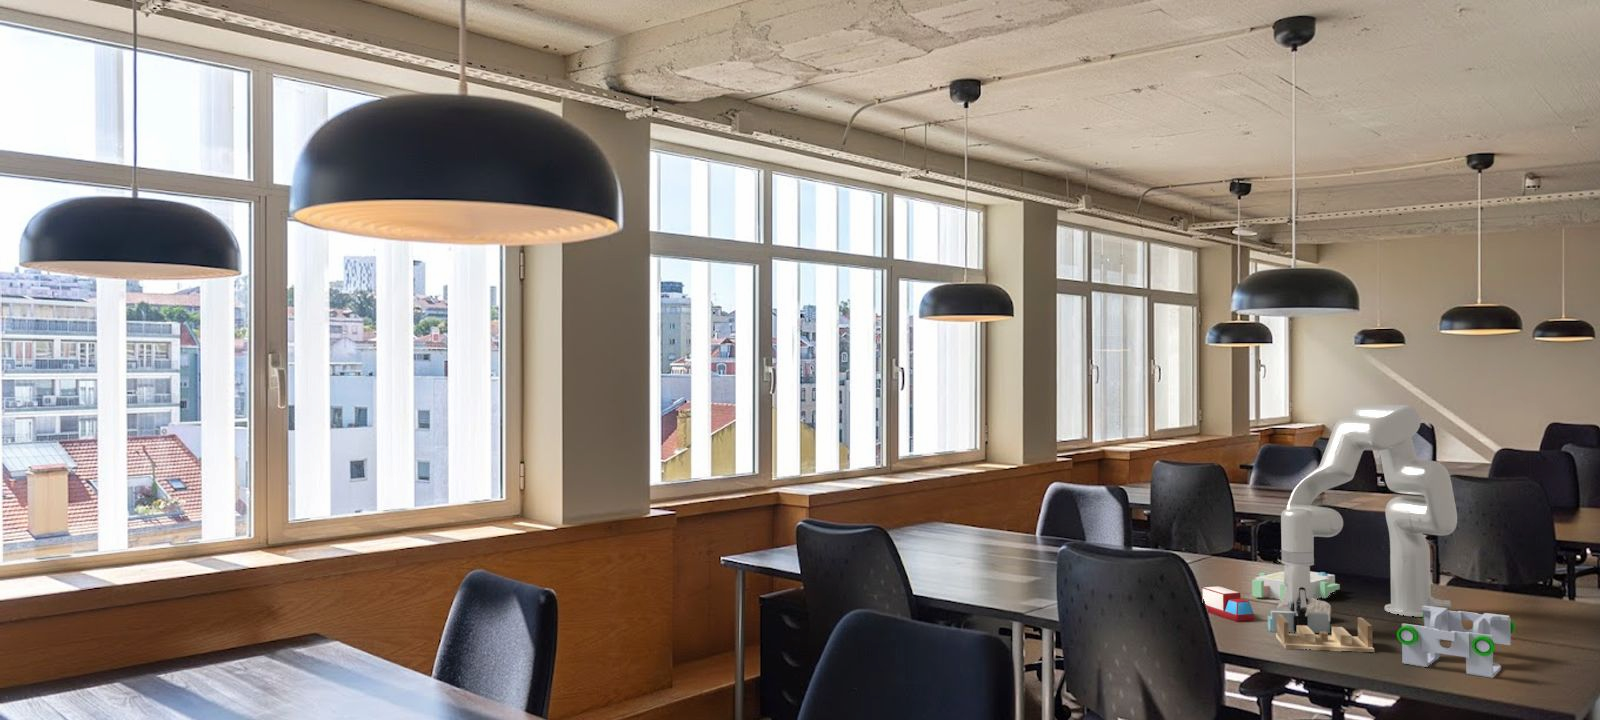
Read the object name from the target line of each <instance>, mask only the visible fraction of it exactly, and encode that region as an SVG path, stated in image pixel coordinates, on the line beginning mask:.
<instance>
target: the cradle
mask: <svg viewBox="0 0 1600 720" xmlns="http://www.w3.org/2000/svg"><path fill="white" fill-rule="evenodd" d="M1275 638H1276V639H1277V640H1278V641H1279V643H1280V644H1281V645H1282V646H1283V648H1284V649H1285V650H1297V649H1304V650H1305V649H1307V650H1305V651H1319V650H1330V651H1329V652H1341V651H1353V652H1352V653H1355V652H1354V651H1358V652H1357V653H1363V652H1374V653H1375V648H1374V647H1373V625H1372V624H1370V623H1369V622H1368V621H1367V620H1365V619H1364V618H1363V617H1357V636H1354V635H1353V636H1352V634H1350V633H1349V631H1347V630H1346V629H1345V628H1344V627H1343V626H1331V634H1328V633H1327V632H1326V631H1319V634H1315V633H1314V632H1313V631H1312V630H1311V629H1310V628H1309V627H1308V626H1304V625H1297V632H1296V633H1289V623H1288V622H1287V620H1286V619H1285V618H1284V617H1283V616H1282V615H1281V614H1277V632H1275ZM1309 649H1311V650H1309ZM1304 650H1303V651H1304Z"/></svg>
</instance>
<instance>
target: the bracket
mask: <svg viewBox="0 0 1600 720" xmlns="http://www.w3.org/2000/svg"><path fill="white" fill-rule="evenodd" d="M1422 611H1423V617H1422V620H1423V622H1424V623H1423V625H1418V624H1409V623H1401V627H1400V628H1399V629H1398V630H1397V632H1396V637H1397V639H1398V641H1399V642H1400V643H1401V653H1402V654H1401V656H1402V658H1401V660H1402V661H1401V662H1402V663H1404V664H1410V665H1409V666H1411V665H1416V666H1415V667H1417V666H1422V667H1421V668H1424V667H1428V666H1429V665H1430V664H1431V665H1433V664H1434V663H1435V662H1436V661H1437V660H1439V659H1440V658H1439V657H1441V654H1442V655H1447V656H1456V657H1462V658H1465V665H1466V666H1465V667H1466V668H1465V671H1466V672H1465V673H1466V675H1469V674H1470V676H1476V677H1484V678H1489V679H1493V678H1495V676H1496V675H1498V674H1499V672H1500V671H1501V670H1502V665H1501V664H1500V663H1496V662H1494V651H1495V649H1496V644H1498V645H1499V644H1500V645H1507V646H1511V645H1512V641H1511V639H1512V637H1511V636H1512V634H1513V633H1514V631H1515V629H1516V625H1515V622H1514V621H1513V620H1512V619H1511V616H1510V615H1505V614H1496V613H1491V612H1490V613H1489V612H1484V613H1483V614H1480V613H1478V612H1471V611H1470V612H1469V611H1464V610H1463V611H1461V610H1458V611H1456V610H1448V608H1443V607H1432V606H1423V607H1422ZM1462 620H1464V621H1471V622H1472V628H1471V629H1466V628H1464V626H1463V624H1462V623H1463V621H1462ZM1441 640H1443V641H1451V644H1450V647H1445V646H1442V645H1441ZM1435 660H1436V661H1435ZM1434 661H1435V662H1434ZM1433 662H1434V663H1433ZM1402 663H1401V664H1402ZM1432 663H1433V664H1432ZM1404 664H1403V665H1404ZM1431 665H1430V666H1431ZM1430 666H1429V667H1430ZM1429 667H1428V668H1429Z"/></svg>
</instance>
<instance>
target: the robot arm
mask: <svg viewBox="0 0 1600 720" xmlns="http://www.w3.org/2000/svg"><path fill="white" fill-rule="evenodd" d="M1421 420H1422V419H1421V416H1420V413H1419V412H1418V410H1417V409H1416V408H1414V407H1413V406H1411V405H1407V404H1386V403H1363V404H1359V405H1357V406H1355V407H1354V408H1353V410H1352V412H1351V417H1349V416H1348V417H1343V418H1340V419H1339V420H1337V421H1336V423H1335V424H1334V426H1333V429H1332V431H1331V434H1330V437H1329V438H1328V442H1327V444H1326V447H1325V450H1324V453H1323V455H1322V456H1321V457H1322V458H1321V460H1320V463H1319V465H1318V467H1316V469H1314V470H1312V471H1311V472H1310V473H1308V474H1307V475H1306V476H1305V477H1304V478H1303V479H1302V480H1301V481H1299V483H1297V485H1296V486H1295V487H1294V488H1293V490H1292V492H1291V494H1290V496H1289V498H1288V501H1287V503H1286V504H1287V505H1286V508H1285V509H1283V510H1282V512H1281V514H1280V530H1281V531H1280V533H1281V534H1280V535H1281V537H1280V538H1281V541H1280V542H1281V544H1280V545H1281V564H1283V565H1284V566H1283V567H1284V568H1283V569H1284V570H1283V571H1284V590H1283V596H1284V598H1285V599H1286V600H1287V601H1288V602H1289V603H1290V611H1294V612H1295V616H1294V631H1295V632H1296V633H1297V625H1304V626H1308V616H1307V605H1308V604H1310V602H1311V583H1310V571H1311V567H1312V566H1314V565H1315V558H1314V554H1315V553H1314V551H1315V550H1314V548H1315V547H1314V544H1315V543H1314V542H1315V541H1314V540H1315V539H1314V538H1315V537H1319V538H1331V537H1335V536H1337V535H1339V533H1340V532H1341V531H1342V529H1343V527H1344V519H1343V517H1342V515H1341V514H1340V512H1339V511H1338V510H1335V509H1333V508H1329V507H1323V506H1316V505H1312V503H1313V502H1314V501H1315V499H1316V498H1317V497H1318V496H1319V495H1320V494H1322V493H1324V492H1325V491H1327V490H1330V489H1333V488H1336V487H1338V486H1340V485H1343V484H1346V483H1348V482H1351V481H1352V480H1353V479H1354V477H1355V474H1356V471H1357V469H1358V466H1359V463H1360V461H1361V457H1362V455H1363V452H1364V451H1375V452H1379V456H1380V460H1381V465H1382V470H1383V475H1384V480H1385V484H1386V486H1387V488H1388V489H1389V490H1390V491H1391V492H1393V493H1397V494H1402V495H1401V496H1400V495H1399V496H1395V497H1393V498H1392V499H1389V501H1388V502H1387V504H1386V506H1385V509H1384V510H1385V513H1384V514H1385V520H1386V525H1387V529H1388V534H1389V549H1390V550H1389V551H1390V555H1389V560H1390V563H1389V564H1390V565H1389V566H1390V603H1388V604H1385V605H1384V611H1386V612H1387V613H1389V612H1390V613H1389V614H1393V615H1397V614H1399V615H1398V616H1403V615H1404V616H1405V617H1412V616H1414V617H1413V618H1415V617H1416V618H1423V611H1422V607H1423V606H1432V607H1441V608H1447V609H1448V608H1449V609H1450V608H1452V603H1451V600H1447V599H1446V600H1443V599H1437V598H1434V597H1433V596H1432V595H1431V593H1432V591H1431V550H1430V548H1431V547H1430V545H1429V542H1428V540H1427V538H1426V537H1425V535H1431V536H1433V535H1434V536H1449V535H1451V534H1452V533H1453V532H1455V530H1456V528H1457V524H1458V512H1457V505H1456V502H1455V496H1454V490H1453V484H1452V480H1451V476H1450V473H1449V471H1448V469H1447V468H1446V467H1445V466H1444V465H1443V464H1442V463H1440V462H1438V461H1434V460H1429V459H1428V460H1427V459H1420V458H1418V456H1417V453H1416V449H1415V445H1414V442H1413V438H1412V437H1413V436H1414V435H1416V434H1417V432H1418V431H1419V429H1420V427H1421ZM1408 495H1409V496H1408ZM1410 495H1411V496H1410ZM1412 495H1413V496H1412ZM1414 495H1415V496H1414ZM1420 496H1421V497H1420ZM1422 496H1423V497H1422ZM1424 534H1425V535H1424ZM1404 616H1403V617H1404Z"/></svg>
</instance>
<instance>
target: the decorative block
mask: <svg viewBox="0 0 1600 720" xmlns="http://www.w3.org/2000/svg"><path fill="white" fill-rule="evenodd" d="M1310 583H1311V598H1315V599H1318V598H1321V597H1322V599H1327V598H1329V597H1330V596H1331V594H1330V593H1332V592H1335V593H1336V591H1337V590H1340V589H1341V587H1340V586H1341V584H1340V583H1339V584H1338V583H1336V575H1335V574H1330V573H1326V572H1323V571H1320V572H1318V571H1317V572H1316V571H1311V570H1310ZM1283 590H1284V570H1283V571H1278V572H1274V573H1269V574H1267V573H1266V572H1259V575H1258V576H1256V577H1254V579H1252V580H1251V596H1252V597H1258V598H1266V597H1269V598H1268V599H1272V598H1275V599H1274V600H1278V599H1280V601H1282V600H1283V599H1284V596H1283ZM1329 595H1330V596H1329ZM1328 596H1329V597H1328ZM1318 600H1319V599H1318Z"/></svg>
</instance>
